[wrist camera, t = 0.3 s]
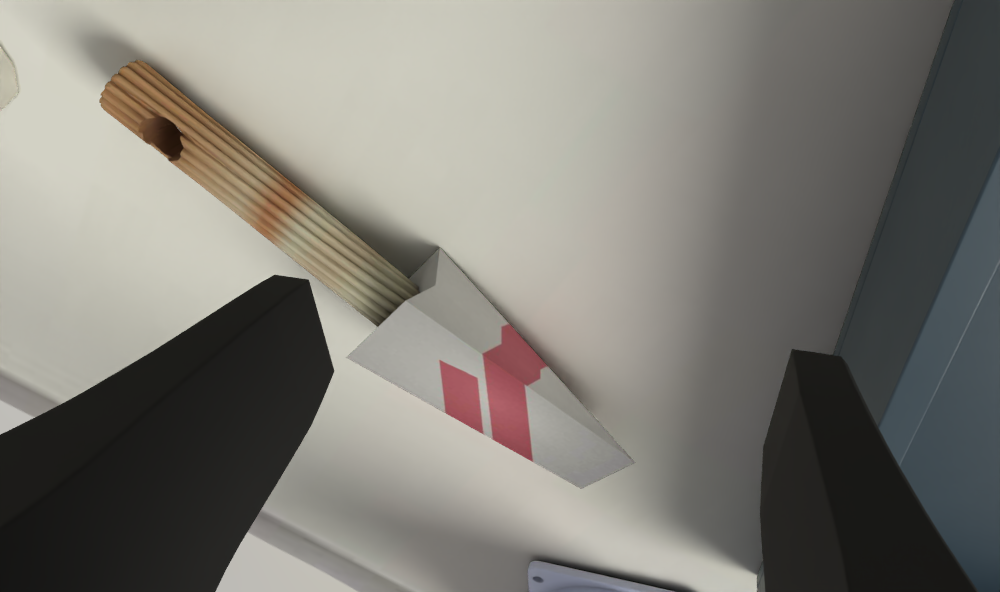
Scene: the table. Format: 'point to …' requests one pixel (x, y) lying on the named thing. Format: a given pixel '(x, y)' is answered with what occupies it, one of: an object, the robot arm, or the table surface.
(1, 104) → the milkshake
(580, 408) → the paintbrush
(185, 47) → the table surface
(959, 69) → the tub
